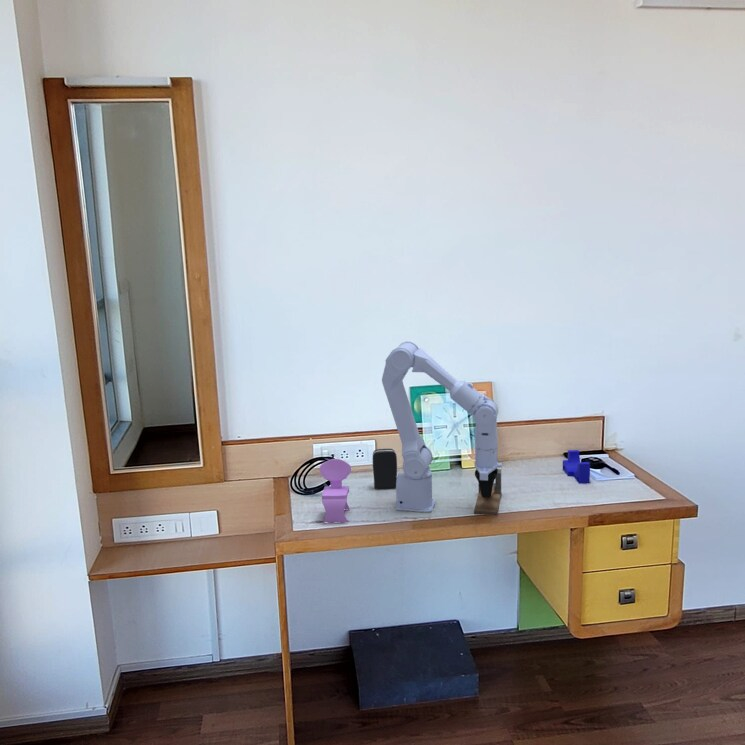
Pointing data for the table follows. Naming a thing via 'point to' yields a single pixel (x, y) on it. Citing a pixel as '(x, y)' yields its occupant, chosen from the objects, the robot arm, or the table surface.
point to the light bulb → (491, 493)
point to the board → (487, 505)
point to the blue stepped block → (577, 467)
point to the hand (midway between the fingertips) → (486, 496)
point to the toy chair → (335, 489)
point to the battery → (384, 468)
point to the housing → (496, 483)
